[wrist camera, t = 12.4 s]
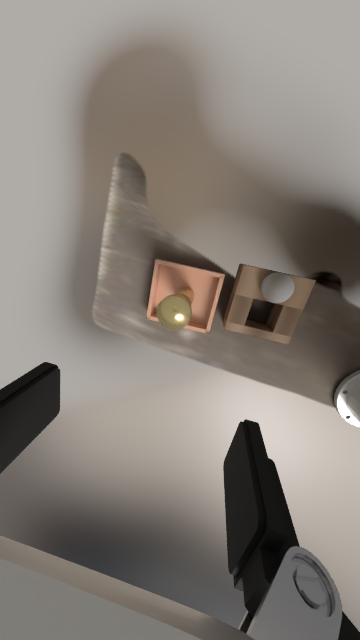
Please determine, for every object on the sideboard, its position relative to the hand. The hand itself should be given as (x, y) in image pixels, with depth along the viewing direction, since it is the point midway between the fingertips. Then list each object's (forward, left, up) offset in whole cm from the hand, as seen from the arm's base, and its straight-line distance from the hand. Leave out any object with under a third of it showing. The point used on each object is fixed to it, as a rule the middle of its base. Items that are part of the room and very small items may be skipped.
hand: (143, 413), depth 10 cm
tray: (+1, -1, -26) cm, 26 cm away
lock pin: (+1, -1, -26) cm, 26 cm away
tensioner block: (-11, -3, -26) cm, 29 cm away
